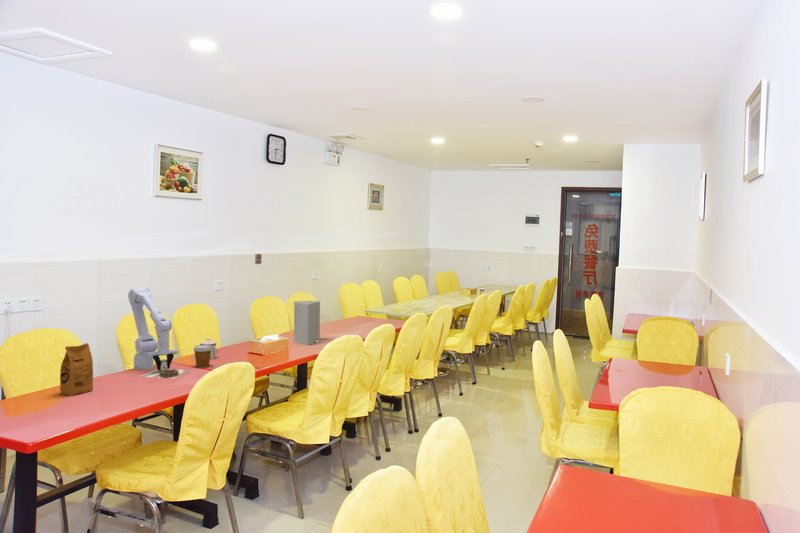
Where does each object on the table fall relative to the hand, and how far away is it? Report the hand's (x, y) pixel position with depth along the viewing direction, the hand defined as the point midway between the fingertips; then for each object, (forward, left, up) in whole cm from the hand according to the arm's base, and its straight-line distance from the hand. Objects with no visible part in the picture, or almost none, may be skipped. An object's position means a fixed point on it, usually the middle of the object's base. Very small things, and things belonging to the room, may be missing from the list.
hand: (163, 369), depth 304 cm
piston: (0, 0, -1) cm, 1 cm away
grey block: (+47, +99, -3) cm, 110 cm away
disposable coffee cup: (+14, +16, -3) cm, 21 cm away
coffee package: (-20, -40, -3) cm, 45 cm away
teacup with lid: (+7, +40, -3) cm, 41 cm away
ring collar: (+7, -7, -2) cm, 10 cm away
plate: (+3, -3, -2) cm, 5 cm away
